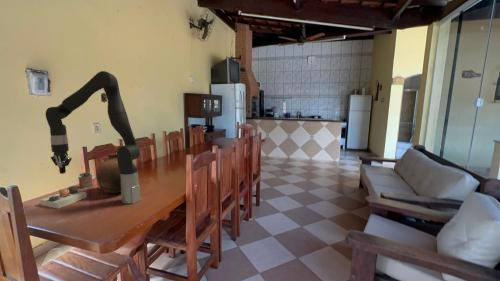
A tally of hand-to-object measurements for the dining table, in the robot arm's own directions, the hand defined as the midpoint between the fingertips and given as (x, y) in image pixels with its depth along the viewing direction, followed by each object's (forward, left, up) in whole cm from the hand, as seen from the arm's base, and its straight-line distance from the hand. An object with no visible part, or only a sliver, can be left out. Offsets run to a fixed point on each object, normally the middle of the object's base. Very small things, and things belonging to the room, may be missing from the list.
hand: (62, 173), depth 137 cm
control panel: (+1, 0, -17) cm, 17 cm away
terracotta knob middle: (+1, 0, -13) cm, 13 cm away
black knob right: (+1, -5, -13) cm, 14 cm away
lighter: (+11, -21, -17) cm, 29 cm away
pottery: (-14, -23, -17) cm, 32 cm away
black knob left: (+1, +6, -16) cm, 16 cm away
